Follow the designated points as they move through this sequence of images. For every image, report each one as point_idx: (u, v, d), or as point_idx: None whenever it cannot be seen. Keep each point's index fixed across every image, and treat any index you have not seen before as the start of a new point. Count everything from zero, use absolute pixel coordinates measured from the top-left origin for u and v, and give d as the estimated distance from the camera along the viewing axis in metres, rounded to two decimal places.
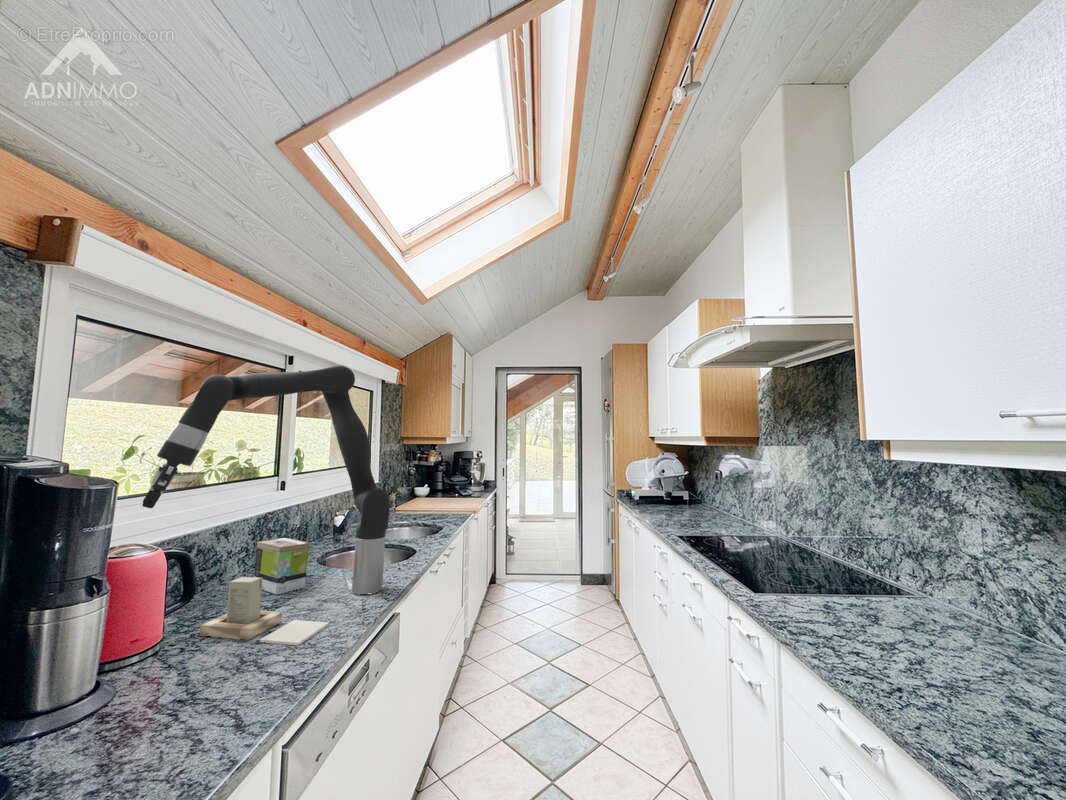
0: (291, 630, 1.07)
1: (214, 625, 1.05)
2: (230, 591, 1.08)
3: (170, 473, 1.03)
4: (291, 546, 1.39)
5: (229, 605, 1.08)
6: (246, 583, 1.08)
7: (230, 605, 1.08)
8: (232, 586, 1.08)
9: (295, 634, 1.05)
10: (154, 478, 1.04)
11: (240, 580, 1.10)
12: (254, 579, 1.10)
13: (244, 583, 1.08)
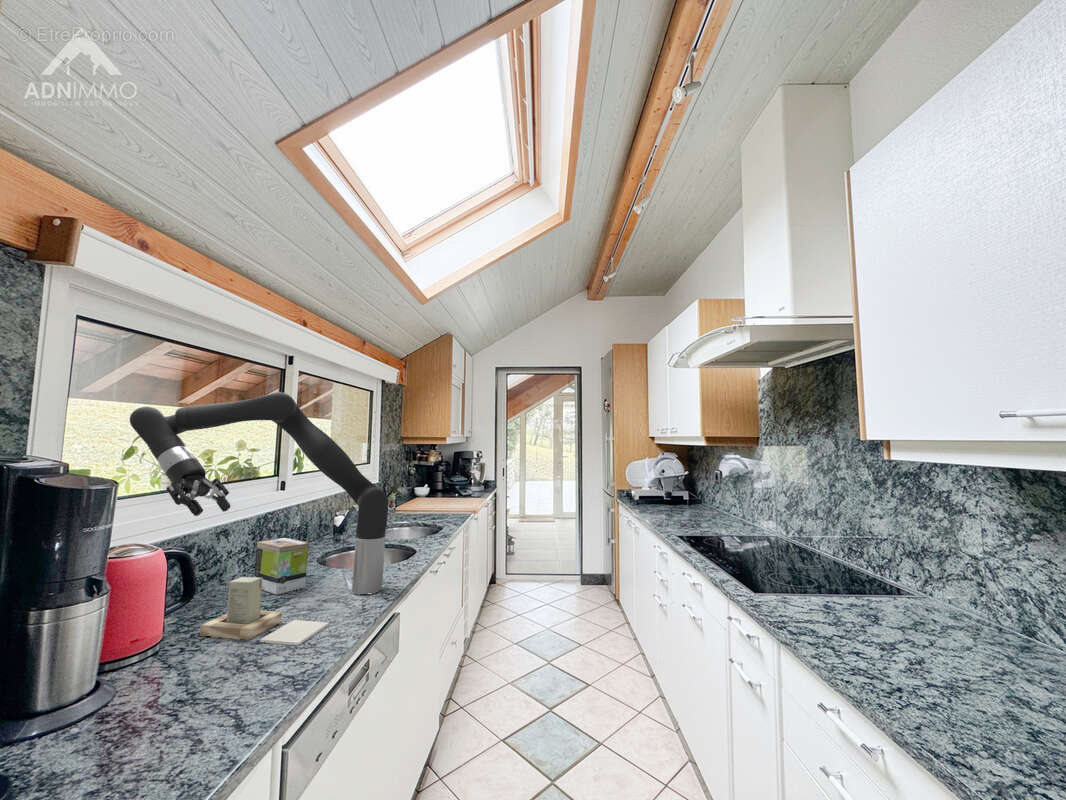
0: (291, 630, 1.07)
1: (214, 625, 1.05)
2: (230, 591, 1.08)
3: (173, 487, 1.09)
4: (291, 546, 1.39)
5: (229, 605, 1.08)
6: (246, 583, 1.08)
7: (230, 605, 1.08)
8: (232, 586, 1.08)
9: (295, 634, 1.05)
10: None
11: (240, 580, 1.10)
12: (254, 579, 1.10)
13: (244, 583, 1.08)
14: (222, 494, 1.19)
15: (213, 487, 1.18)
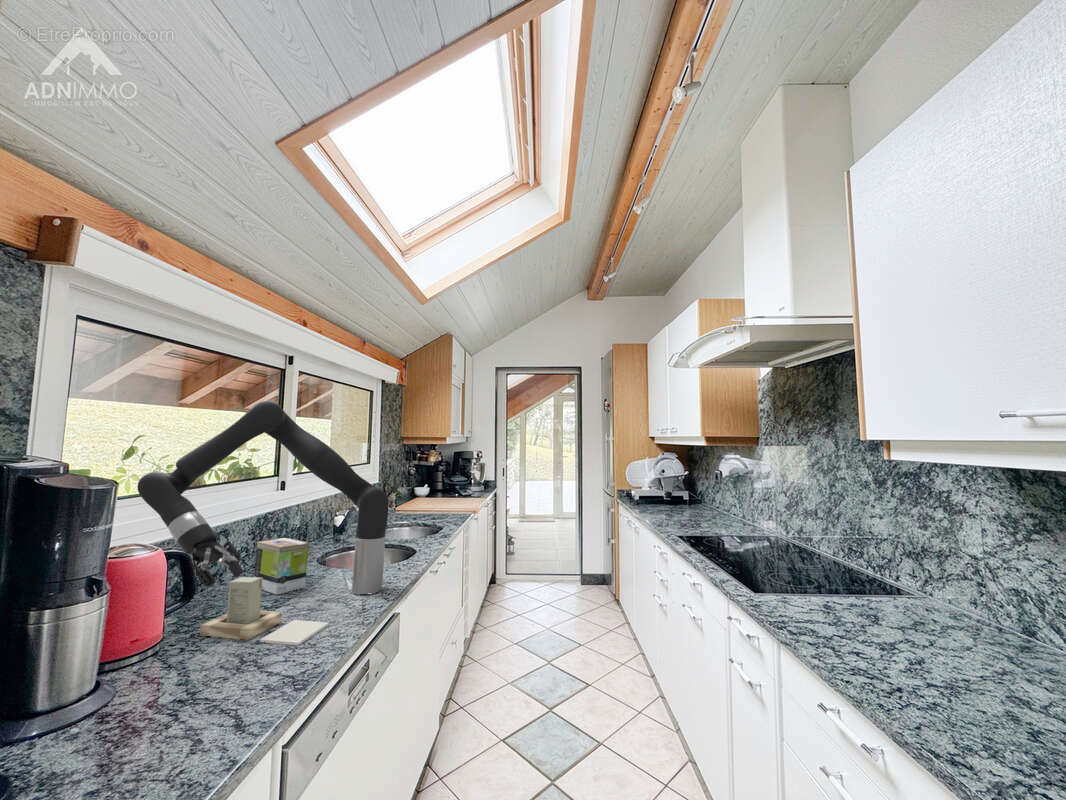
0: (291, 630, 1.07)
1: (214, 625, 1.05)
2: (230, 591, 1.08)
3: None
4: (291, 546, 1.39)
5: (229, 605, 1.08)
6: (246, 583, 1.08)
7: (230, 605, 1.08)
8: (232, 586, 1.08)
9: (295, 634, 1.05)
10: None
11: (240, 580, 1.10)
12: (254, 579, 1.10)
13: (244, 583, 1.08)
14: (234, 559, 1.17)
15: (225, 553, 1.15)
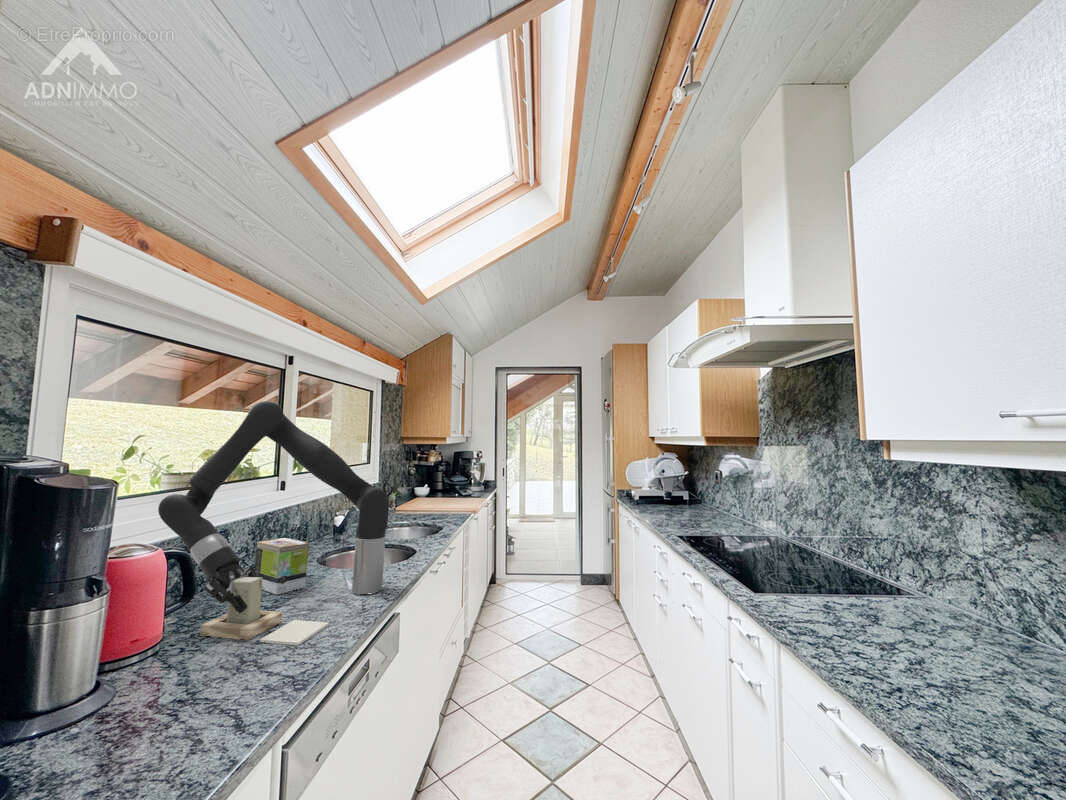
0: (291, 630, 1.07)
1: (214, 625, 1.05)
2: None
3: (213, 587, 1.05)
4: (291, 546, 1.39)
5: (229, 605, 1.08)
6: (246, 583, 1.08)
7: (230, 605, 1.08)
8: None
9: (295, 634, 1.05)
10: None
11: (240, 580, 1.10)
12: (254, 579, 1.10)
13: (244, 583, 1.08)
14: None
15: None
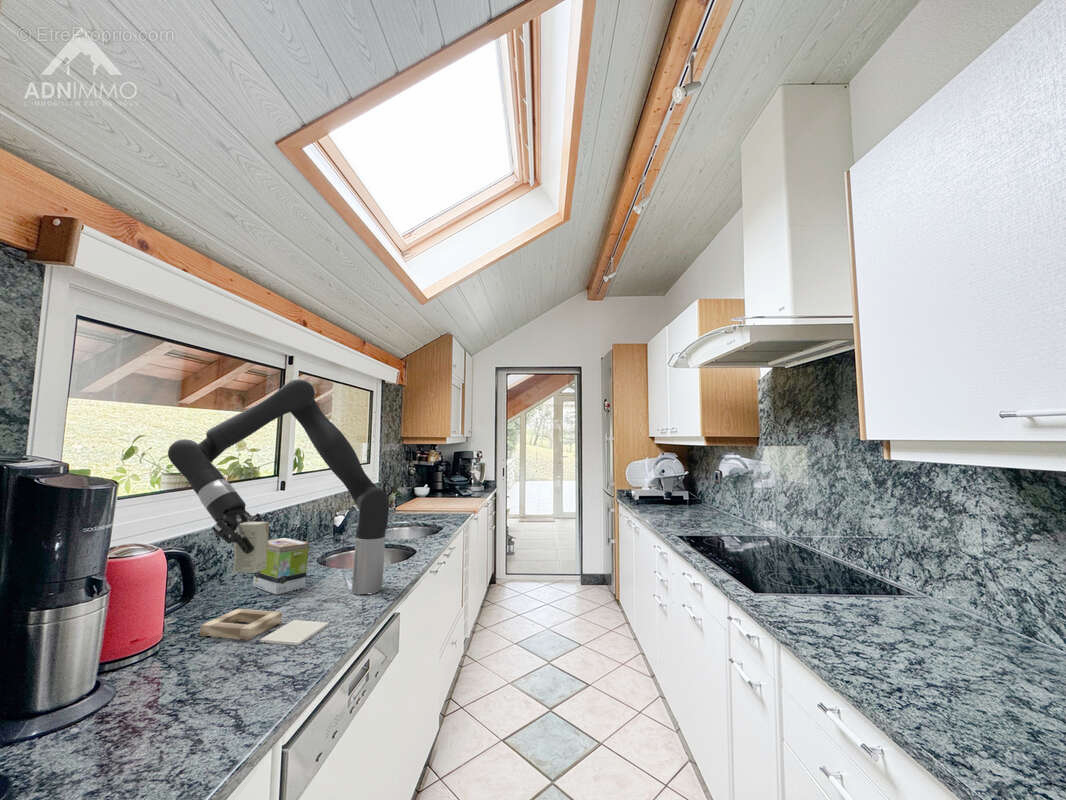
0: (291, 630, 1.07)
1: (214, 625, 1.05)
2: None
3: (220, 528, 1.06)
4: (291, 546, 1.39)
5: (236, 547, 1.10)
6: (253, 525, 1.10)
7: (237, 547, 1.10)
8: None
9: (295, 634, 1.05)
10: (230, 535, 1.10)
11: (247, 523, 1.11)
12: (261, 522, 1.12)
13: (251, 525, 1.10)
14: None
15: None
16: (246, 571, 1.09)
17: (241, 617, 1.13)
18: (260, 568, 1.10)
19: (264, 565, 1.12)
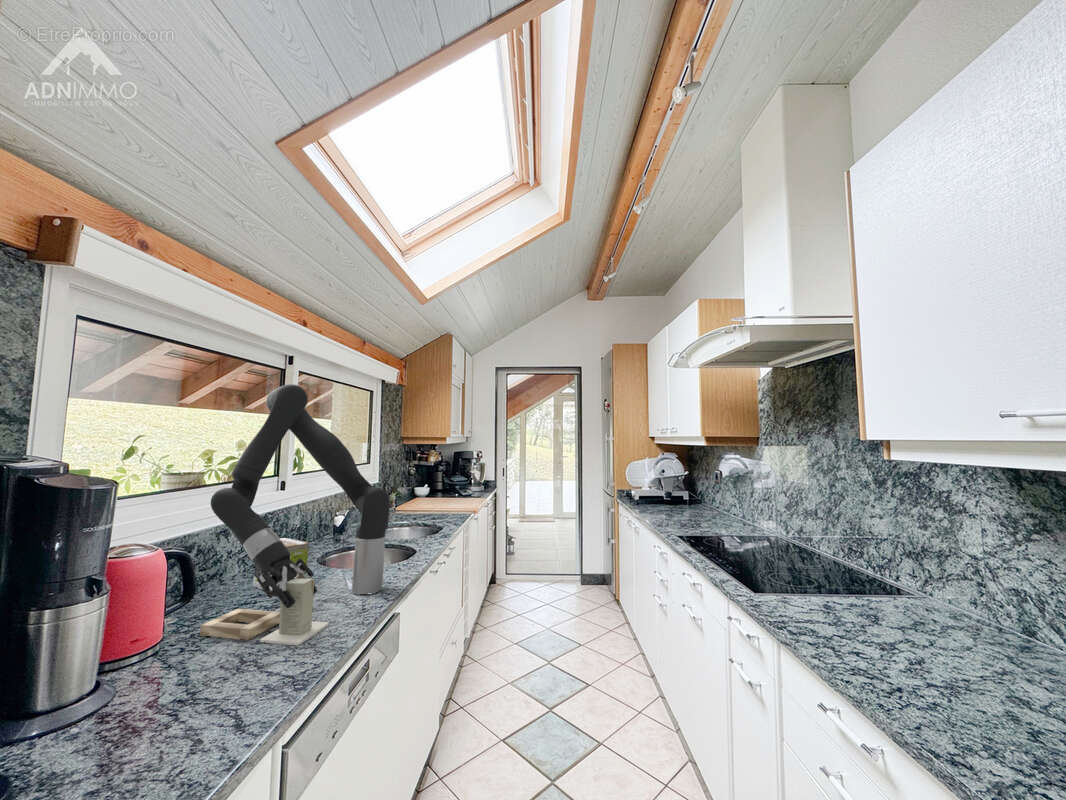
0: None
1: (214, 625, 1.05)
2: None
3: (264, 579, 1.03)
4: (291, 546, 1.39)
5: (282, 607, 1.06)
6: (299, 584, 1.06)
7: (283, 607, 1.06)
8: None
9: (295, 634, 1.05)
10: None
11: (292, 581, 1.07)
12: (306, 580, 1.08)
13: (297, 584, 1.06)
14: (308, 577, 1.13)
15: (299, 571, 1.12)
16: (292, 632, 1.05)
17: (241, 617, 1.13)
18: (306, 628, 1.07)
19: (310, 625, 1.08)
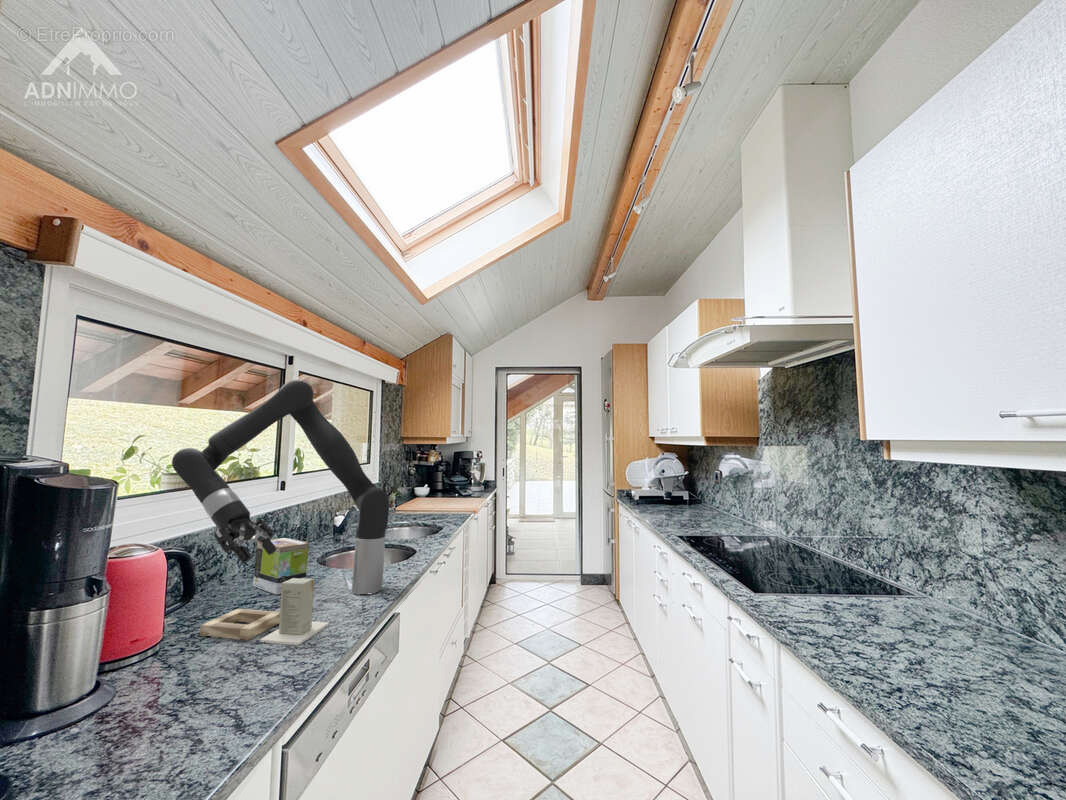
0: None
1: (214, 625, 1.05)
2: (283, 592, 1.06)
3: (221, 534, 1.06)
4: (291, 546, 1.39)
5: (282, 607, 1.06)
6: (299, 584, 1.06)
7: (283, 607, 1.06)
8: (285, 588, 1.06)
9: (295, 634, 1.05)
10: None
11: (292, 581, 1.07)
12: (306, 580, 1.08)
13: (297, 584, 1.06)
14: (267, 536, 1.16)
15: (258, 530, 1.15)
16: (292, 632, 1.05)
17: (241, 617, 1.13)
18: (306, 628, 1.07)
19: (310, 625, 1.08)
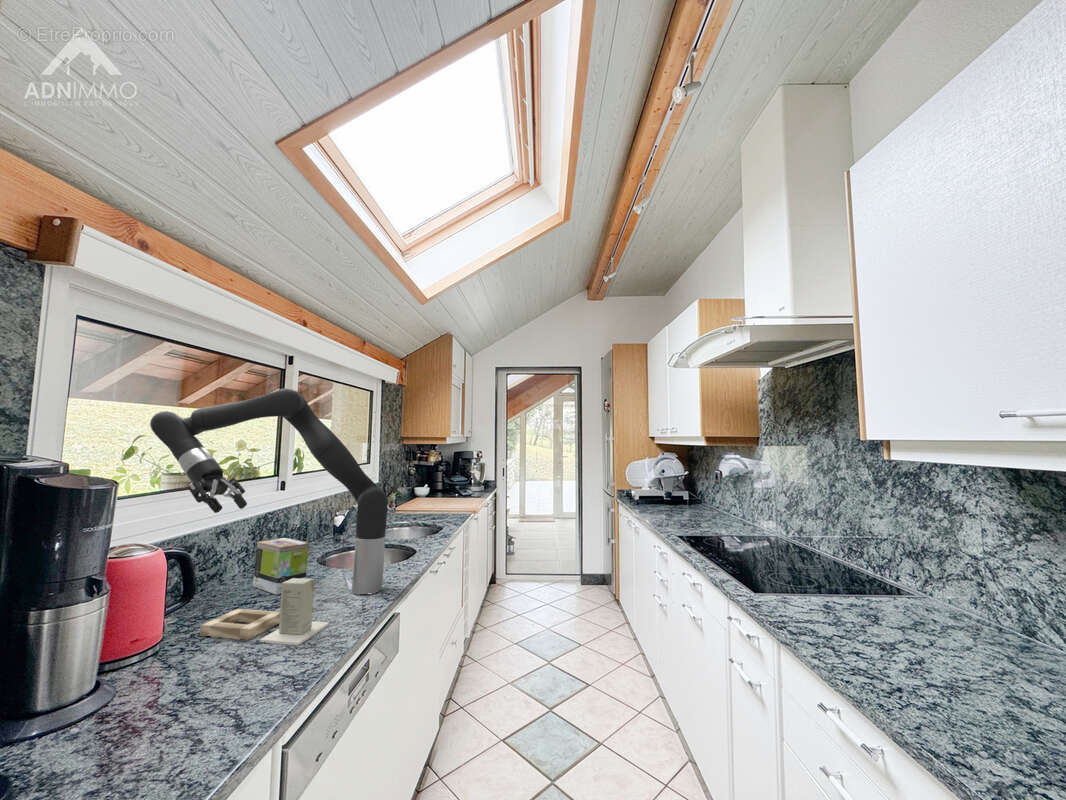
0: None
1: (214, 625, 1.05)
2: (283, 592, 1.06)
3: (194, 486, 1.16)
4: (291, 546, 1.39)
5: (282, 607, 1.06)
6: (299, 584, 1.06)
7: (283, 607, 1.06)
8: (285, 588, 1.06)
9: (295, 634, 1.05)
10: None
11: (292, 581, 1.07)
12: (306, 580, 1.08)
13: (297, 584, 1.06)
14: (239, 492, 1.26)
15: (230, 486, 1.25)
16: (292, 632, 1.05)
17: (241, 617, 1.13)
18: (306, 628, 1.07)
19: (310, 625, 1.08)
